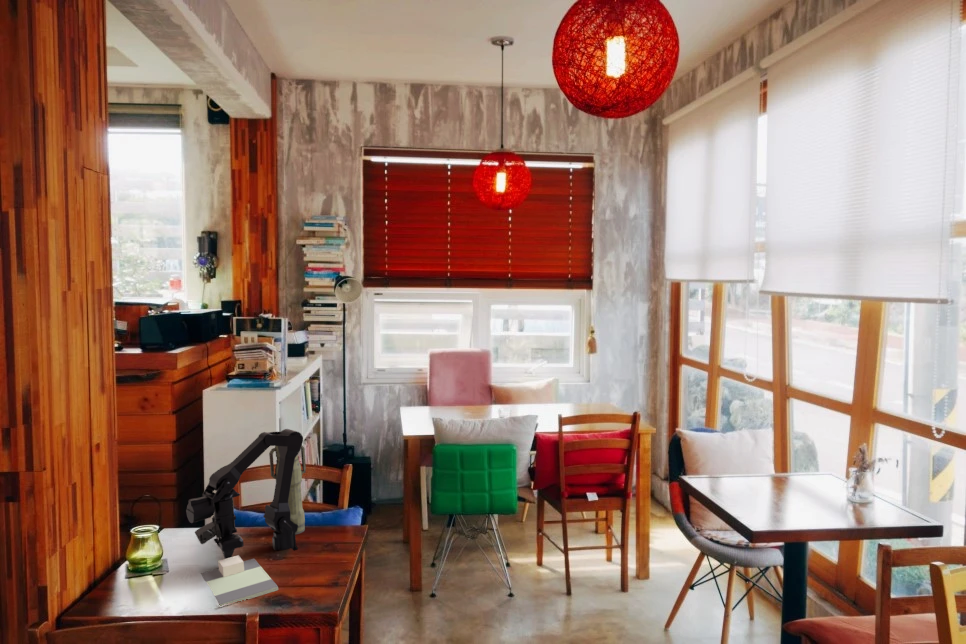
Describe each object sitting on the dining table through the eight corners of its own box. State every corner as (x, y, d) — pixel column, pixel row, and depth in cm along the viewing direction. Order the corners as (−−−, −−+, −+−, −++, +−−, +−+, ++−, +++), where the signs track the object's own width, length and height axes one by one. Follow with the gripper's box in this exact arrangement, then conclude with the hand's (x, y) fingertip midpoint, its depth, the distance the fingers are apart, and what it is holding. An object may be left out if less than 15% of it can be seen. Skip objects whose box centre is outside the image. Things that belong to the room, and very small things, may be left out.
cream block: (239, 564, 211) (238, 555, 210) (244, 571, 206) (243, 561, 205) (218, 570, 207) (218, 560, 207) (223, 577, 202) (223, 567, 202)
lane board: (254, 561, 215) (254, 558, 215) (278, 590, 195) (278, 586, 195) (201, 576, 206) (200, 573, 206) (220, 607, 186) (220, 604, 186)
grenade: (271, 531, 239) (264, 434, 236) (304, 522, 246) (298, 428, 243) (279, 539, 232) (272, 438, 229) (312, 530, 238) (306, 432, 235)
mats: (254, 558, 215) (254, 558, 215) (278, 586, 195) (278, 586, 195) (200, 573, 206) (200, 573, 206) (220, 604, 186) (220, 604, 186)
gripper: (190, 510, 212) (193, 558, 213) (202, 529, 196) (206, 580, 198) (227, 502, 218) (230, 549, 219) (242, 519, 202) (245, 569, 204)
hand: (227, 561), depth 210 cm, fingers closed
